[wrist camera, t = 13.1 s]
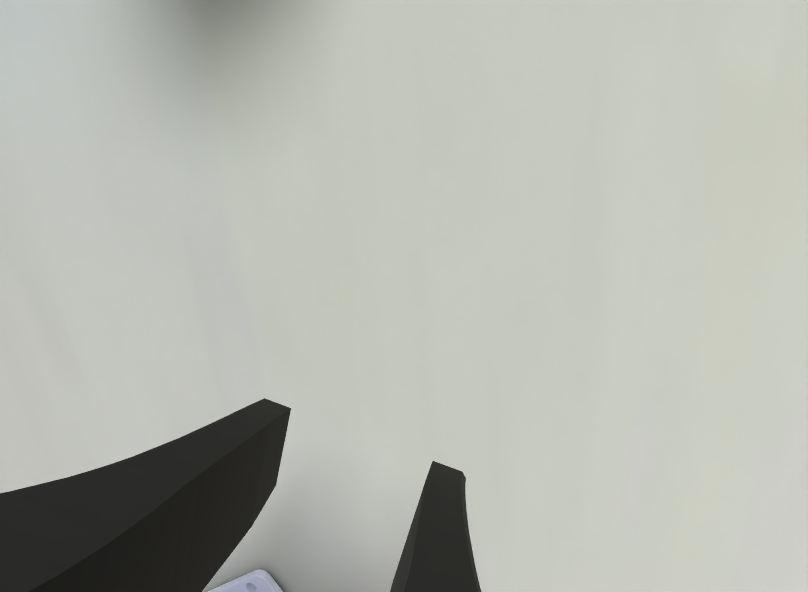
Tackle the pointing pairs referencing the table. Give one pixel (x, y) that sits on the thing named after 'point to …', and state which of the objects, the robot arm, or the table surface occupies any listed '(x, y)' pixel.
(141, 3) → the table surface
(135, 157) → the table surface
